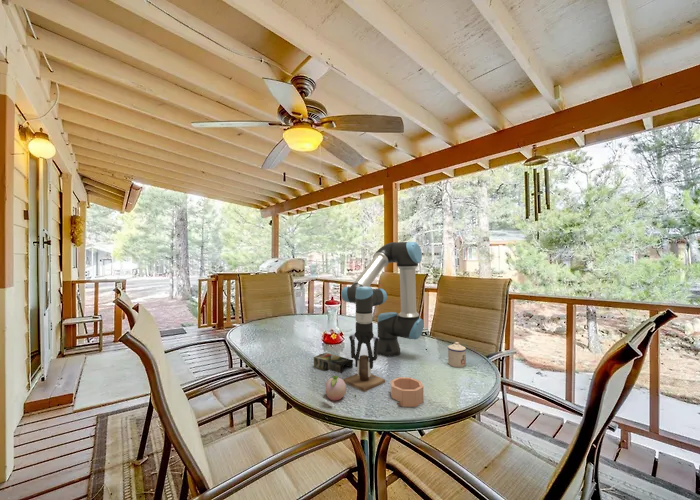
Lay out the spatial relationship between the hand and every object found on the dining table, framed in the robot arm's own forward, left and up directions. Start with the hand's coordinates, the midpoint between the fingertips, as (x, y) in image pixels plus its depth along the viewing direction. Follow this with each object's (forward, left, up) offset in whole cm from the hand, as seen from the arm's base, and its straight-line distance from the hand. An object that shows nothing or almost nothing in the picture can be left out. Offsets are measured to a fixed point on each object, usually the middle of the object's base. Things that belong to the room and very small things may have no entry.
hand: (364, 374), depth 133 cm
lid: (0, 0, -3) cm, 3 cm away
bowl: (+20, +4, -5) cm, 21 cm away
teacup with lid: (+15, +55, -5) cm, 57 cm away
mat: (0, 0, -5) cm, 5 cm away
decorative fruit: (+2, -18, -5) cm, 19 cm away
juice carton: (-25, +2, -5) cm, 25 cm away
